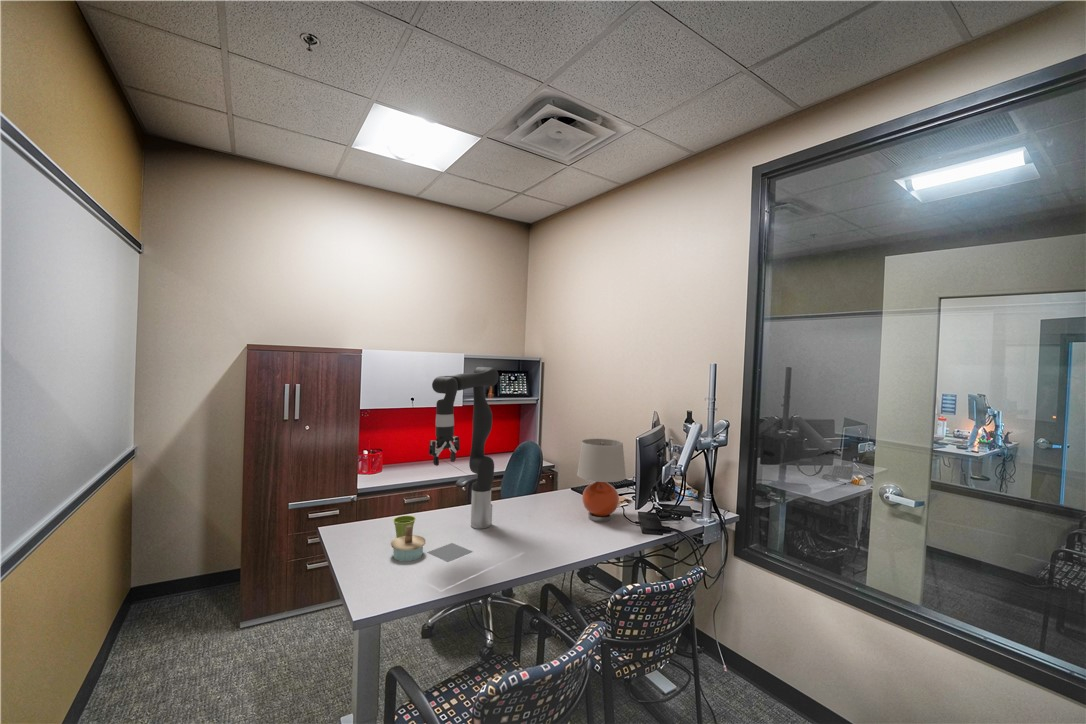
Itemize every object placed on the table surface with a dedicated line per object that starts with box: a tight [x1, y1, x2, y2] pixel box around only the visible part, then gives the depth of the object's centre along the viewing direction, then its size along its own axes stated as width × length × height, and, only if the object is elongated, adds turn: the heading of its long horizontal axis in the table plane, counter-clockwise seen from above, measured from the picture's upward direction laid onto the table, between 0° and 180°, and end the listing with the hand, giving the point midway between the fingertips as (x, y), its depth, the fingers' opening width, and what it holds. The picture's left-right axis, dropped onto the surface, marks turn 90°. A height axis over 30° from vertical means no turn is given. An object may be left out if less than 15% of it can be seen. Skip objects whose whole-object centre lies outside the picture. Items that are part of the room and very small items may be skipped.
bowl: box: [392, 546, 424, 562], centre depth 182 cm, size 11×11×5 cm
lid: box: [390, 525, 426, 550], centre depth 182 cm, size 13×13×7 cm
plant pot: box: [392, 515, 417, 538], centre depth 199 cm, size 9×9×9 cm
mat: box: [427, 542, 474, 563], centre depth 186 cm, size 13×13×1 cm
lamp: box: [576, 438, 627, 523], centre depth 233 cm, size 25×25×39 cm
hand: (444, 463), depth 191 cm, fingers open, 8 cm apart
